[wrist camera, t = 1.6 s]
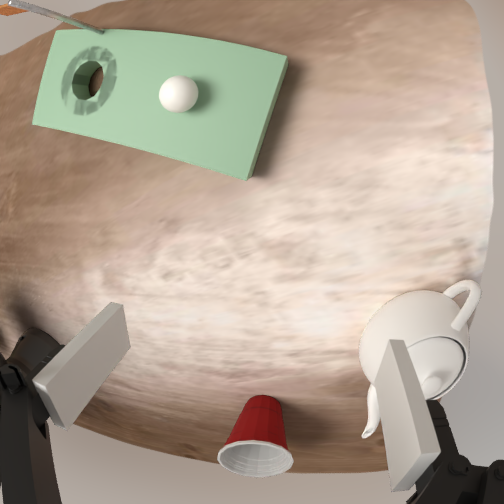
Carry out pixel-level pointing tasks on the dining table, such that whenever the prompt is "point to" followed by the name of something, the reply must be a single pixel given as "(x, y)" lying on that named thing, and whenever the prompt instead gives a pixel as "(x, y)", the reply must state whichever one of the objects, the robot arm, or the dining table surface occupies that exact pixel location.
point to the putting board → (147, 94)
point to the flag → (18, 7)
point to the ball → (178, 94)
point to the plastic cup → (257, 441)
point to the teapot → (421, 340)
